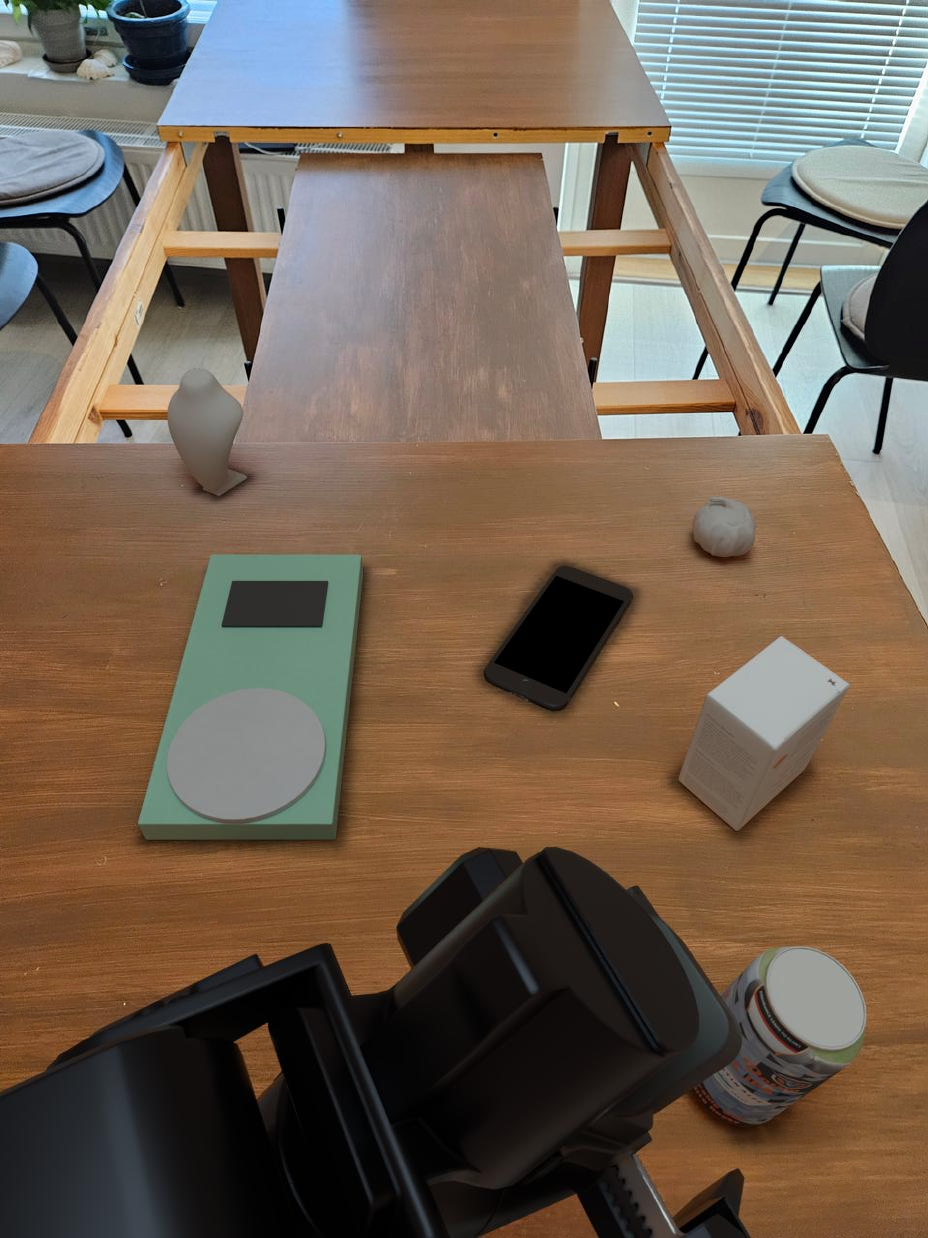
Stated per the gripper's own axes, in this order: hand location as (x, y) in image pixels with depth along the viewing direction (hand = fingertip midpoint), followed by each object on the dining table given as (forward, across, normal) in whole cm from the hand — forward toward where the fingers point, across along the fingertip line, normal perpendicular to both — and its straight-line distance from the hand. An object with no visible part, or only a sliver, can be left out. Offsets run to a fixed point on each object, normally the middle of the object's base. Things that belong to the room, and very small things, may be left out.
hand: (666, 1069), depth 39 cm
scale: (+4, +39, +15) cm, 42 cm away
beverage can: (+15, 0, +4) cm, 16 cm away
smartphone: (+21, +33, -1) cm, 40 cm away
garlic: (+34, +36, -15) cm, 52 cm away
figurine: (+7, +65, +12) cm, 66 cm away
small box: (+24, +16, -5) cm, 29 cm away
